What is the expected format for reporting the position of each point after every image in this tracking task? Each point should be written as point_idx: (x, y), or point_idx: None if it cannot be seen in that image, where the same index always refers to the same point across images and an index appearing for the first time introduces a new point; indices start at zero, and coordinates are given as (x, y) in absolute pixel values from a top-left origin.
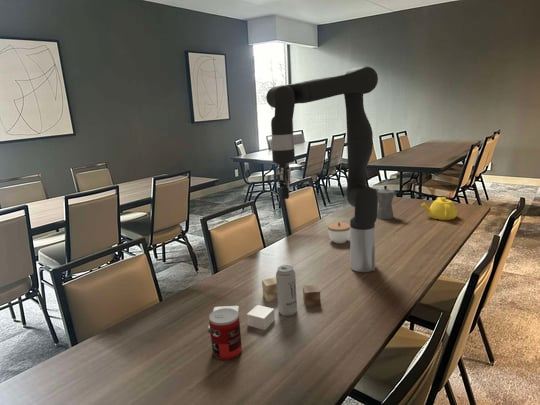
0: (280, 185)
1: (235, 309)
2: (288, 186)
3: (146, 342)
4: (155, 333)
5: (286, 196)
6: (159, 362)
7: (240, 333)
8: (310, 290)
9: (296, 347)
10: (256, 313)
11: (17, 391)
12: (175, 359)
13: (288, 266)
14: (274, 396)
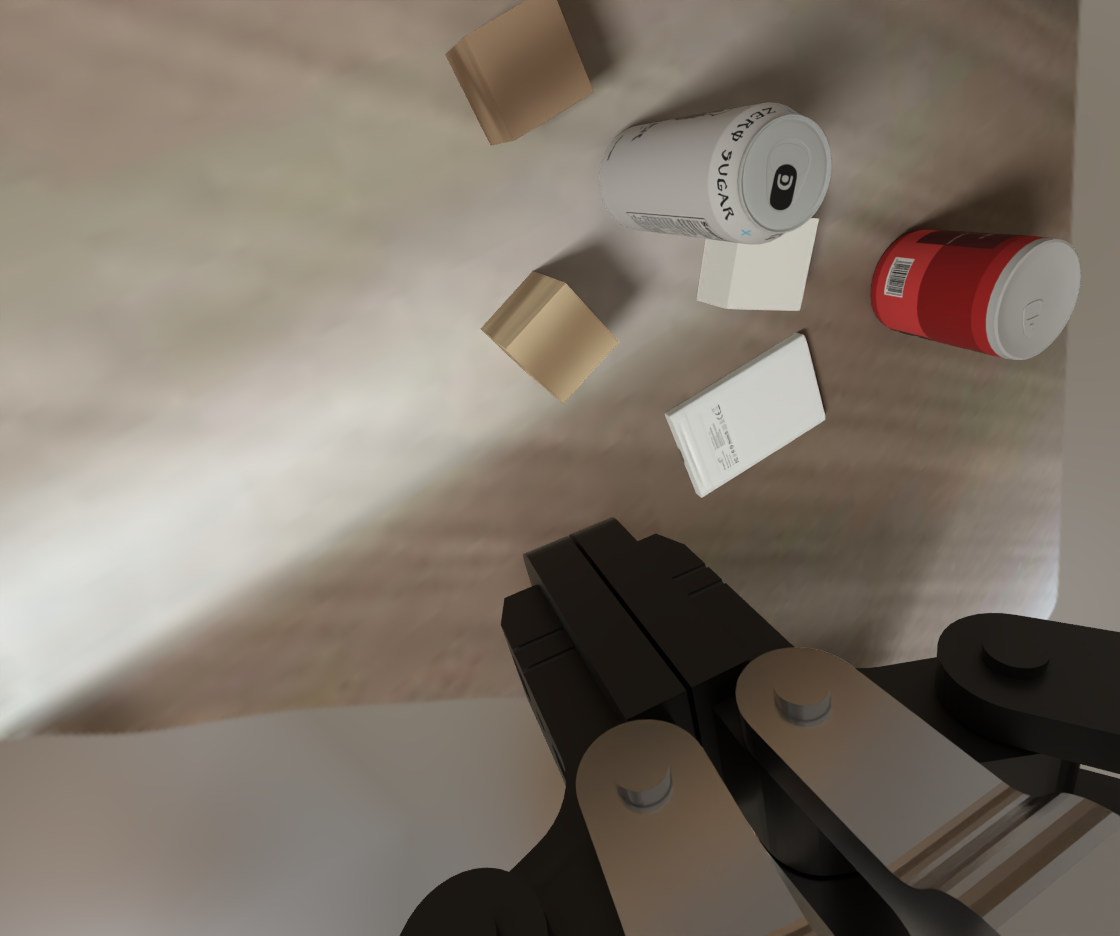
0: (1092, 784)
1: (701, 409)
2: (828, 675)
3: (889, 536)
4: (851, 551)
5: (683, 553)
6: (958, 435)
7: (958, 238)
8: (556, 63)
9: (863, 22)
10: (788, 273)
11: (1038, 613)
12: (945, 405)
13: (752, 167)
14: (1067, 9)
